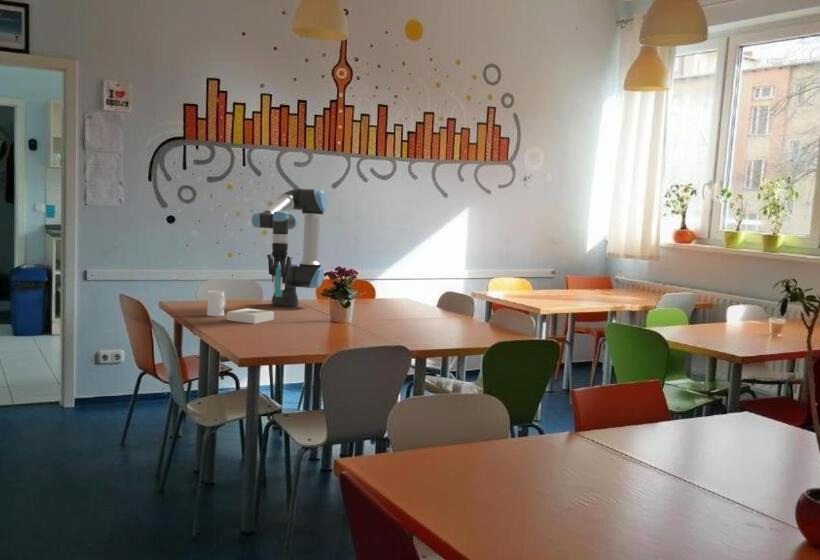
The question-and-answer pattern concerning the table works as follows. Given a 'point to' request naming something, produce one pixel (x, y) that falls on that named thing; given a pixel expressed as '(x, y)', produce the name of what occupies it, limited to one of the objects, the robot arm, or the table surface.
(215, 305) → the mug
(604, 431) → the table surface
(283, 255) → the robot arm
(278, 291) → the peg
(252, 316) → the socket block
